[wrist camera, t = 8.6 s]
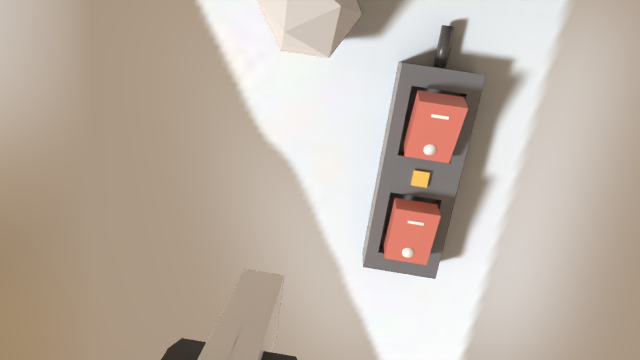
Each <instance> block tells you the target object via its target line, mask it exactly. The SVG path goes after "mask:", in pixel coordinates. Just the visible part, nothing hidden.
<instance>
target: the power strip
mask: <svg viewBox="0 0 640 360" xmlns="http://www.w3.org/2000/svg"><path fill="white" fill-rule="evenodd" d="M453 32H454V27H452V26H444V25H443V26H442V28H441V33H440V38H439V42H438V47H437V52H436V56H435V61H434V66H433V67H429V66H422V65H415V64H408V63H401V62H399V63H398V68H397V73H396V79H395V84H394V89H393V94H392V100H391V105H390V110H389V116H388V121H387V126H386V132H385V137H384V142H383V148H382V153H381V158H380V163H379V169H378V174H377V179H376V185H375V190H374V195H373V201H372V206H371V211H370V217H369V222H368V227H367V233H366V238H365V243H364V248H363V267H367V268H373V269H379V270H385V271H391V272H397V273H403V274H409V275H415V276H421V277H427V278H433V279H435V278H436V274H437V270H438V266H439V262H440V258H441V254H442V250H443V246H444V242H445V238H446V234H447V230H448V226H449V222H450V218H451V214H452V210H453V205H454V201H455V197H456V193H457V189H458V185H459V181H460V177H461V173H462V169H463V165H464V161H465V157H466V153H467V149H468V145H469V141H470V137H471V133H472V129H473V125H474V121H475V116H476V112H477V108H478V104H479V100H480V96H481V92H482V88H483V84H484V80H485V76H486V75H482V74H476V73H469V72H462V71H455V70H449V69H445V68H446V64H447V59H448V54H449V50H450V45H451V41H452V36H453ZM418 90H420V91H427V92H433V93H440V94H447V95H453V96H460V97H464V98H465V101H466V104H467V107H468V110H467V113H466V116H465V119H464V122H463V125H462V128H461V130H460V133H459V136H458V139H457V142H456V145H455V148H454V150H453V153H452V156H451V159H450V162H449V163H444V162H437V161H431V160H424V159H418V158H412V157H405V156H404V140H405V136H406V133H407V129H408V125H409V121H410V118H411V114H412V110H413V106H414V102H415V99H416V95H417V91H418ZM395 198H400V199H407V200H413V201H419V202H426V203H432V204H437V205H438V209H439V212H440V215H441V217H440V221H439V224H438V228H437V231H436V234H435V238H434V241H433V245H432V248H431V252H430V255H429V258H428V262H427V265H422V264H416V263H410V262H403V261H397V260H391V259H385V257H384V242H385V238H386V233H387V229H388V225H389V221H390V216H391V212H392V208H393V203H394V199H395Z"/></svg>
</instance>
